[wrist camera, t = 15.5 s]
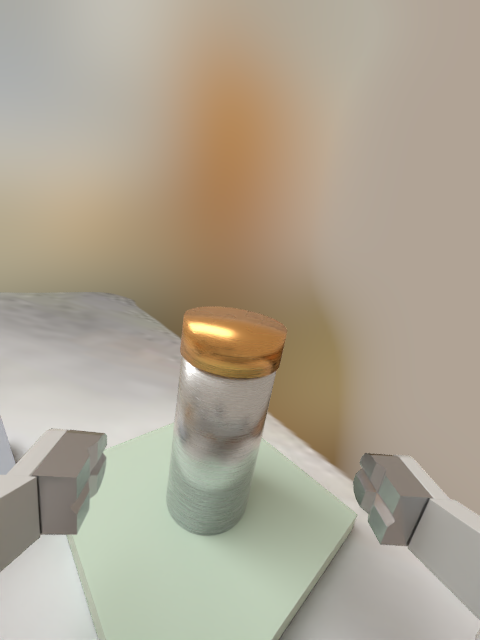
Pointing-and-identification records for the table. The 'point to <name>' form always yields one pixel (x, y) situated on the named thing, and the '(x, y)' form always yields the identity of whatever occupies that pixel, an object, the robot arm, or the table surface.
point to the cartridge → (220, 414)
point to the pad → (202, 551)
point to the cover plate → (5, 452)
